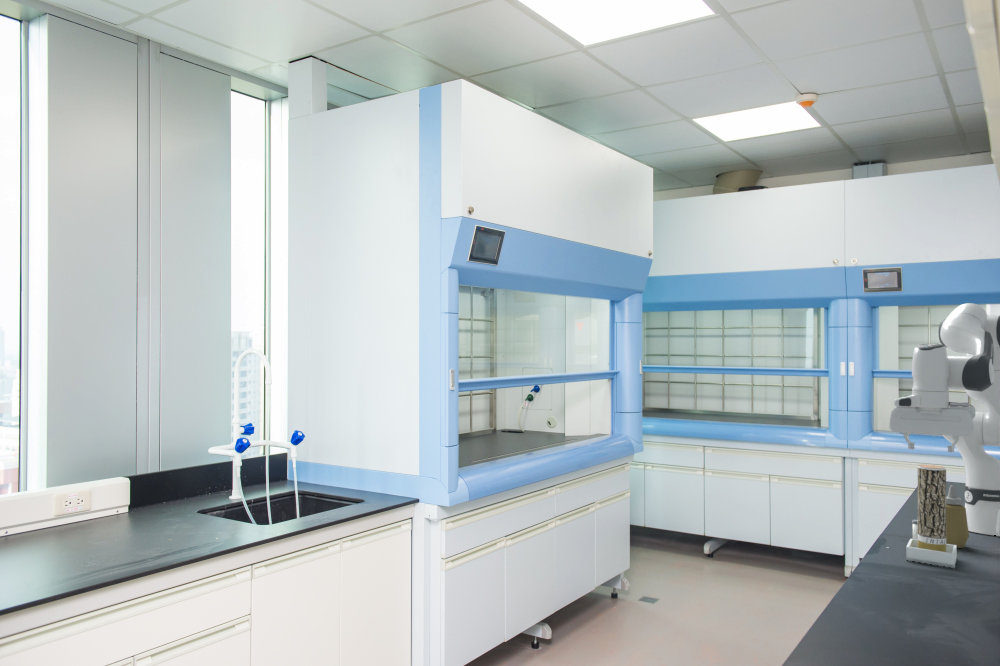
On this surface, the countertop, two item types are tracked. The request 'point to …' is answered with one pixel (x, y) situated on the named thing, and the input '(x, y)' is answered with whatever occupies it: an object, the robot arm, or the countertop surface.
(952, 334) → the robot arm
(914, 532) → the sample vial
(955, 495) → the squeeze bottle
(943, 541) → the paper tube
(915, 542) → the tray
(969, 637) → the countertop surface
